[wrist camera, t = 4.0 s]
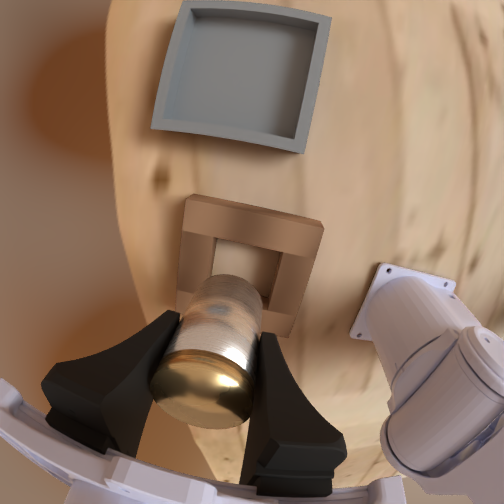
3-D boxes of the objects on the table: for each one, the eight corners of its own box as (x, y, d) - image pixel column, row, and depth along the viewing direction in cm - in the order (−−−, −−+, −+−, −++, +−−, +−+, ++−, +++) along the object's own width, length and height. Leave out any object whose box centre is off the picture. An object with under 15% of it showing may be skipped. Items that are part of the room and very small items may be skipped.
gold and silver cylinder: (269, 282, 15) (262, 382, 8) (254, 338, 16) (242, 435, 10) (196, 267, 15) (146, 354, 8) (191, 324, 16) (153, 414, 10)
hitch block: (320, 221, 21) (324, 228, 19) (287, 324, 25) (288, 337, 23) (193, 193, 21) (185, 198, 19) (181, 300, 25) (175, 312, 23)
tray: (326, 30, 15) (331, 17, 13) (300, 153, 19) (303, 154, 17) (192, 12, 15) (182, 0, 13) (163, 129, 19) (150, 128, 17)
